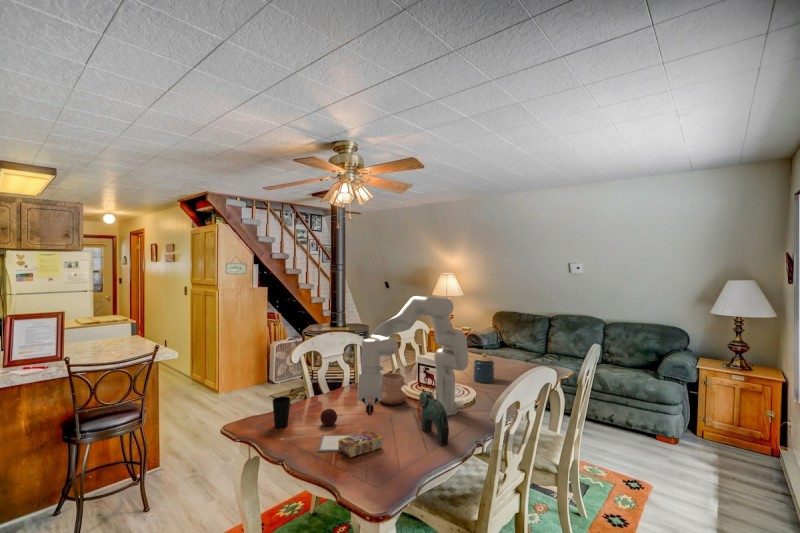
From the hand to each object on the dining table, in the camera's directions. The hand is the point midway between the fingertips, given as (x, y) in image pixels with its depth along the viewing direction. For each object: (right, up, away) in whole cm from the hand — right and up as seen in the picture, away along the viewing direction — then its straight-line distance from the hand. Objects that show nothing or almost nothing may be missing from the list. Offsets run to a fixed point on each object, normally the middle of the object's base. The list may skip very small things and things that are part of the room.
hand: (369, 414), depth 160 cm
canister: (+66, -13, +91) cm, 113 cm away
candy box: (+3, -9, -1) cm, 10 cm away
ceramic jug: (+8, -12, +49) cm, 51 cm away
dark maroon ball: (-20, -12, +18) cm, 29 cm away
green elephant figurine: (+27, -12, +8) cm, 31 cm away
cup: (-41, -11, +15) cm, 45 cm away
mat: (-9, -12, -1) cm, 15 cm away
